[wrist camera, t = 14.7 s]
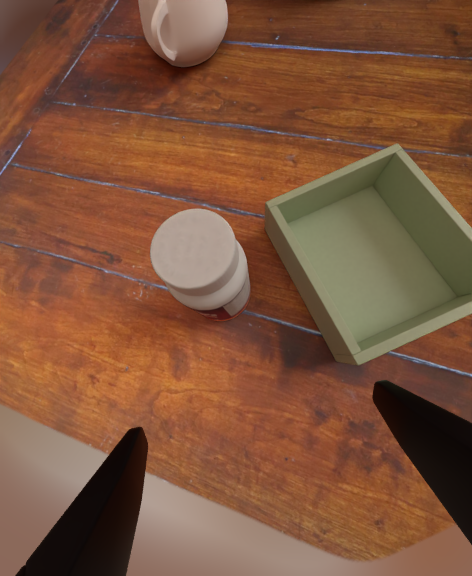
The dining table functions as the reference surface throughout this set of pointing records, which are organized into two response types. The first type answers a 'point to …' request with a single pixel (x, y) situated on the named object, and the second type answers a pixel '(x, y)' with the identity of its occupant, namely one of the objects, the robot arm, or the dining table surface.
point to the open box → (374, 254)
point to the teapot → (184, 28)
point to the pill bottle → (202, 264)
